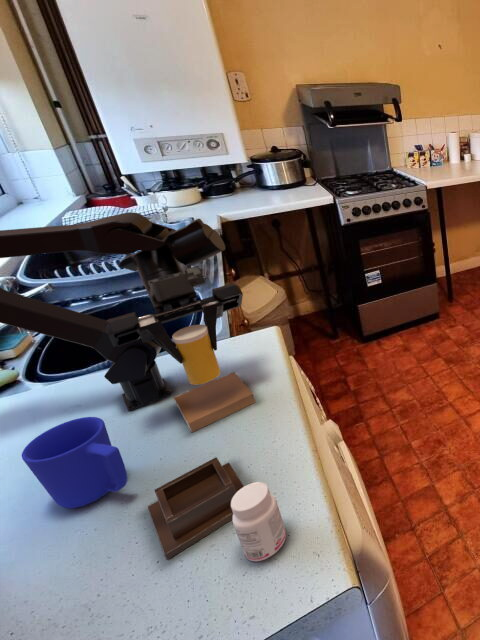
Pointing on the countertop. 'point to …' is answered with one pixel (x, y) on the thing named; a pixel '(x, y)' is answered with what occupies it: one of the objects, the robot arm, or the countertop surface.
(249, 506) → the pill bottle
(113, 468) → the mug
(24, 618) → the countertop surface
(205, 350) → the yellow canister
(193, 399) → the wooden pad
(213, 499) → the stand
